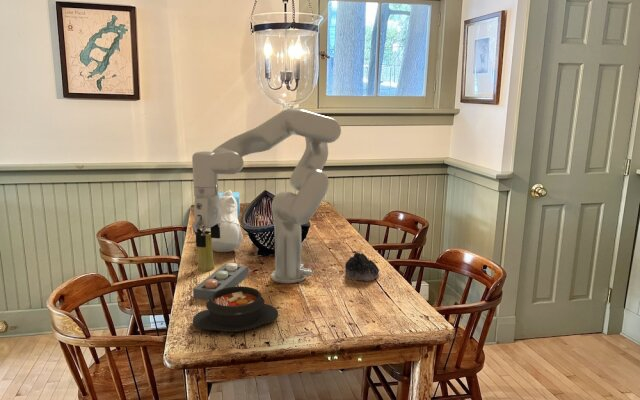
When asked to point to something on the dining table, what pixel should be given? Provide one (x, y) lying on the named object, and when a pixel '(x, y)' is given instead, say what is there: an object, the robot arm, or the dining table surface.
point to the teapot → (236, 196)
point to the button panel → (220, 282)
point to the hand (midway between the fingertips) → (208, 242)
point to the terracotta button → (211, 284)
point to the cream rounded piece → (231, 267)
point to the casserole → (235, 310)
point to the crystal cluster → (361, 268)
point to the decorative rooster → (228, 225)
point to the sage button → (222, 275)
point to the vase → (206, 254)
